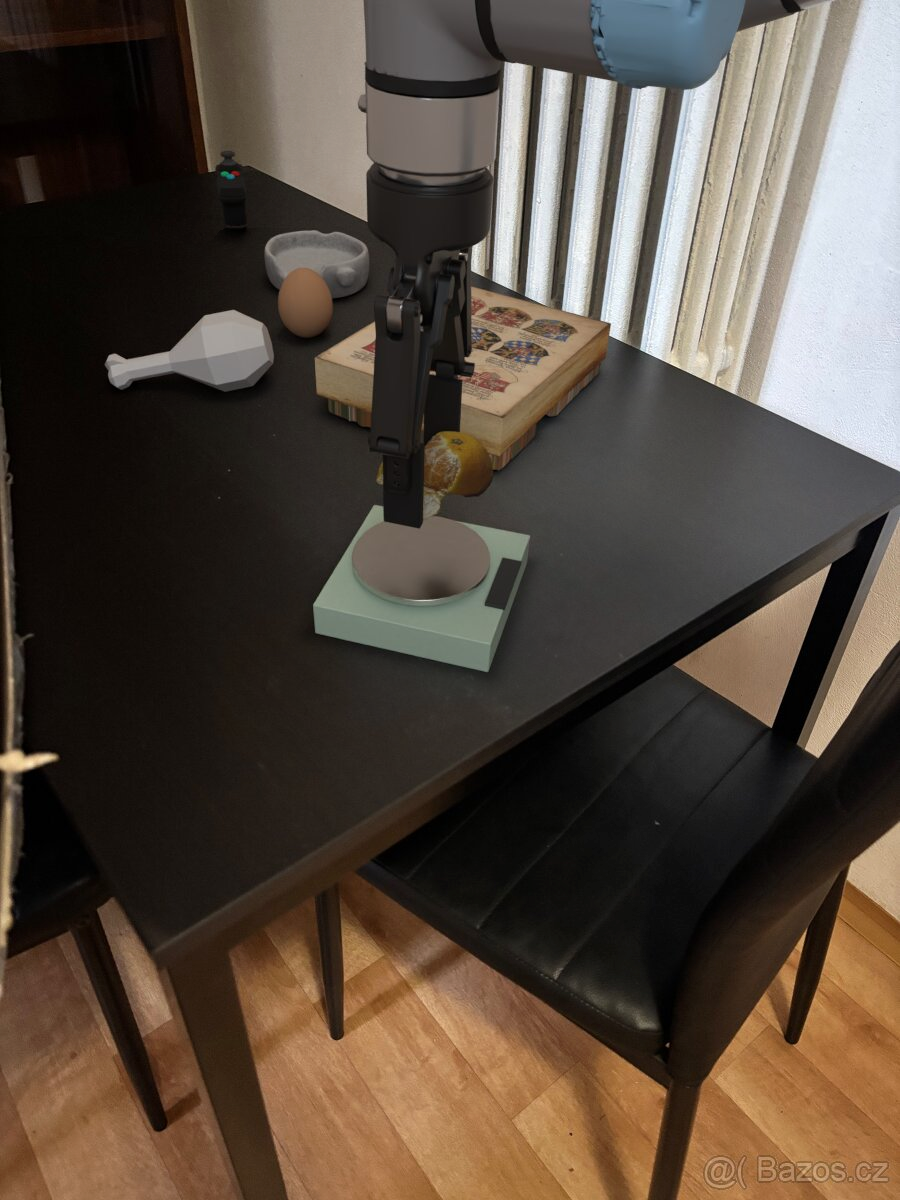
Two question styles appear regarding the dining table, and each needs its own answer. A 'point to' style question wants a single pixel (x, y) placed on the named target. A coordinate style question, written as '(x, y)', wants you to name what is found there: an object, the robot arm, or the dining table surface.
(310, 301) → the egg
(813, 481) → the dining table surface
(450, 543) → the scale pan
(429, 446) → the fruit
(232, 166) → the controller
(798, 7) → the robot arm
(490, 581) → the scale
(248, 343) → the chicken leg
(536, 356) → the book
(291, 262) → the dish
